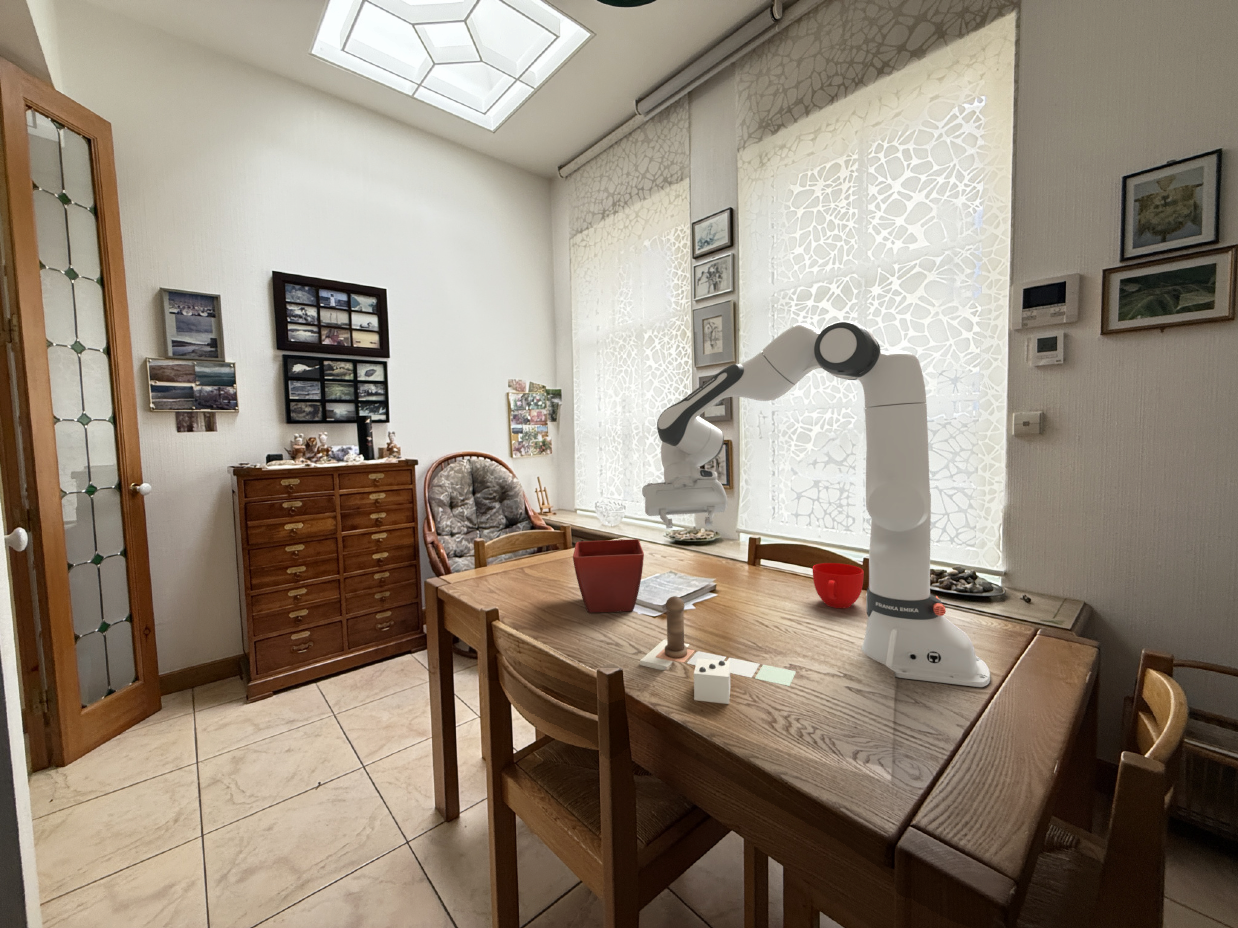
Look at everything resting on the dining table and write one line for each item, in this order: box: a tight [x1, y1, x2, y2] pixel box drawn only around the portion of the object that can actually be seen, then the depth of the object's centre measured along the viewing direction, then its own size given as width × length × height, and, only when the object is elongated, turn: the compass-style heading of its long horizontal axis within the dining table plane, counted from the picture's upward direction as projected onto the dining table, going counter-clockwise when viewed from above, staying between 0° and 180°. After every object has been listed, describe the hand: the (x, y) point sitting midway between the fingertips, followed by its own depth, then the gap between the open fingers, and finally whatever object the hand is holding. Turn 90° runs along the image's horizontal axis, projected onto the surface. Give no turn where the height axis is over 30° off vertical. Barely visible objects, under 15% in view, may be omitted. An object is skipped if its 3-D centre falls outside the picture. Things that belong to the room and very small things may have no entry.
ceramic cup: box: [812, 562, 865, 609], centre depth 135 cm, size 13×17×10 cm
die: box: [693, 658, 731, 705], centre depth 89 cm, size 6×6×7 cm
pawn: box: [665, 595, 688, 658], centre depth 105 cm, size 5×5×12 cm
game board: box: [639, 638, 797, 687], centre depth 101 cm, size 32×12×1 cm, turn 60°
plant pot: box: [572, 538, 645, 614], centre depth 141 cm, size 19×19×17 cm
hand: (689, 526), depth 117 cm, fingers open, 8 cm apart
